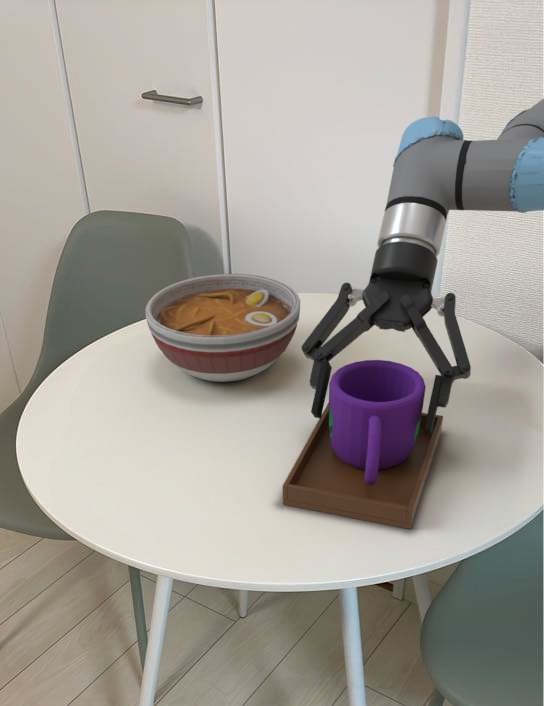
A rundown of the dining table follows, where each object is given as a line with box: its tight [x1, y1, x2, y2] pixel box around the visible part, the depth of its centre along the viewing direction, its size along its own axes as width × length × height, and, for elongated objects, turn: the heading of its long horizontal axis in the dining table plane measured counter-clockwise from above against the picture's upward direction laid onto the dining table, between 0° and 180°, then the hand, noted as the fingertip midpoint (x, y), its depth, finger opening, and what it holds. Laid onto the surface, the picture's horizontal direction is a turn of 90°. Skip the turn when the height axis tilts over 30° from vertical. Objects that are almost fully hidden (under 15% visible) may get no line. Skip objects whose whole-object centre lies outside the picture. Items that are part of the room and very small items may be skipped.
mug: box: [328, 359, 427, 485], centre depth 91 cm, size 17×11×10 cm, turn 171°
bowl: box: [145, 273, 301, 383], centre depth 114 cm, size 23×23×10 cm
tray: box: [282, 402, 444, 530], centre depth 94 cm, size 15×21×3 cm
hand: (370, 423), depth 90 cm, fingers open, 13 cm apart
